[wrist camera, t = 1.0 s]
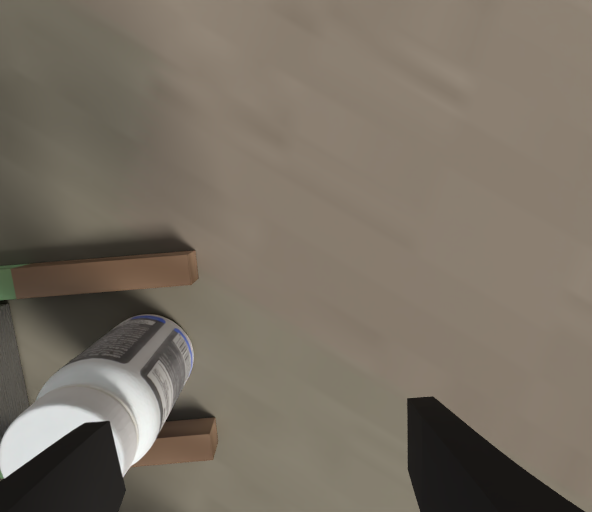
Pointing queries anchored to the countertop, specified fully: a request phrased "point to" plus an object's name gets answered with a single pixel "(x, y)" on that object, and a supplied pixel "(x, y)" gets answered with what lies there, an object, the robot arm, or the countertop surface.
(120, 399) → the pill bottle
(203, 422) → the gauge rails
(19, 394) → the small grey block
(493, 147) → the countertop surface
